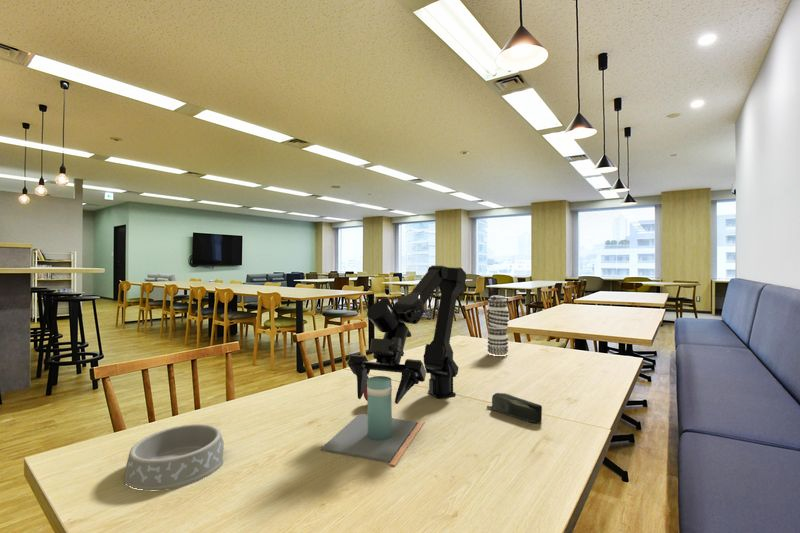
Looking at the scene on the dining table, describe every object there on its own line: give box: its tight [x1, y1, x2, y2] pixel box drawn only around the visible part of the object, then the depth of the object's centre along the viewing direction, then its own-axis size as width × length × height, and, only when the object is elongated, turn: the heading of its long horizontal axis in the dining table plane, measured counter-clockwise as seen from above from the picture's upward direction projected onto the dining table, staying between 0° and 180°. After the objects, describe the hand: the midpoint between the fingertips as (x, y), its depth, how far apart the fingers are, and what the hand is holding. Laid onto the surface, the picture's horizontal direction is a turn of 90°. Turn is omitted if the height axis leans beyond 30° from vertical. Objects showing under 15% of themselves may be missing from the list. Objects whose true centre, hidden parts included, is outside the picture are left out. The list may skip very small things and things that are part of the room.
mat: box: [320, 413, 419, 463], centre depth 93 cm, size 16×20×1 cm
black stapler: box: [486, 392, 543, 424], centre depth 104 cm, size 5×3×15 cm
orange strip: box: [389, 420, 425, 467], centre depth 90 cm, size 22×1×1 cm, turn 161°
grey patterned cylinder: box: [486, 295, 509, 355], centre depth 169 cm, size 9×9×25 cm
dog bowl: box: [124, 423, 225, 491], centre depth 80 cm, size 17×18×5 cm
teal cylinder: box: [366, 375, 393, 441], centre depth 92 cm, size 6×6×13 cm
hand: (377, 400), depth 91 cm, fingers open, 9 cm apart
